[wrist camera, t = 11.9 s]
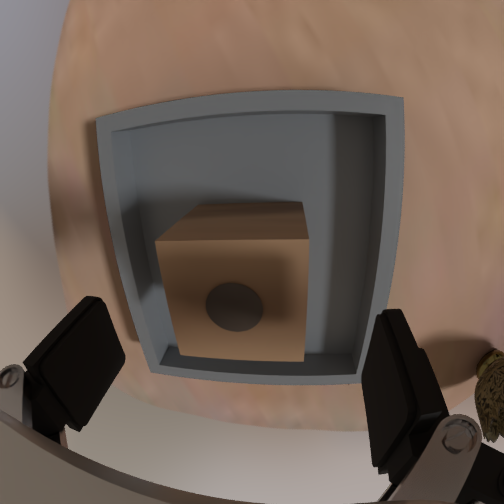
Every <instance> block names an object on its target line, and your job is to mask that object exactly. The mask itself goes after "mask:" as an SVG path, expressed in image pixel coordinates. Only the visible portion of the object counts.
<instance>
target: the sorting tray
mask: <svg viewBox="0 0 504 504" xmlns="http://www.w3.org/2000/svg"><path fill="white" fill-rule="evenodd" d="M96 130H97V142H98V153H99V162H100V170H101V178H102V185H103V192H104V198H105V205H106V210H107V216H108V222H109V227H110V232H111V237H112V242H113V246H114V251H115V255H116V260H117V264H118V268H119V272H120V276H121V280H122V284H123V288H124V291H125V295H126V298H127V302H128V305H129V309H130V312H131V316H132V319H133V322H134V325H135V328H136V332H137V335H138V338H139V341H140V344H141V347H142V349H143V352H144V355H145V358H146V361H147V363H148V366H149V369H150V371H151V372H152V373H158V374H164V375H171V376H178V377H185V378H193V379H202V380H211V381H222V382H234V383H248V384H268V385H336V384H356V383H361V374H362V370H363V366H364V363H365V359H366V355H367V352H368V348H369V344H370V340H371V336H372V332H373V327H374V323H375V318H376V316H377V314H381V313H382V311H383V310H384V309H386V308H387V303H388V298H389V293H390V288H391V283H392V277H393V271H394V265H395V258H396V251H397V244H398V236H399V228H400V218H401V208H402V195H403V179H404V148H405V130H404V100H403V97H396V96H388V95H380V94H371V93H360V92H346V91H327V90H272V91H252V92H238V93H227V94H217V95H209V96H201V97H193V98H187V99H180V100H174V101H168V102H163V103H158V104H153V105H148V106H143V107H138V108H134V109H130V110H125V111H121V112H117V113H113V114H110V115H106V116H102V117H99V118H96ZM262 202H303V208H304V213H305V218H306V224H307V229H308V235H309V274H308V300H307V320H306V336H305V351H304V362H289V361H252V360H233V359H218V358H206V357H195V356H185V355H180V352H179V348H178V344H177V341H176V337H175V333H174V329H173V325H172V321H171V317H170V312H169V308H168V304H167V299H166V295H165V290H164V286H163V281H162V276H161V271H160V266H159V261H158V256H157V251H156V245H155V241H156V240H157V239H158V238H159V237H160V236H161V235H163V234H164V233H165V232H166V231H167V230H168V229H170V228H171V227H172V226H173V225H174V224H175V223H177V222H178V221H179V220H180V219H181V218H183V217H184V216H185V215H186V214H187V213H189V212H190V211H191V210H192V209H193V208H195V207H196V206H197V205H204V204H228V203H262Z"/></svg>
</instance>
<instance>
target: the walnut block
mask: <svg viewBox="0 0 504 504" xmlns="http://www.w3.org/2000/svg"><path fill="white" fill-rule="evenodd" d="M155 245H156V251H157V256H158V261H159V266H160V271H161V276H162V281H163V286H164V290H165V295H166V299H167V304H168V308H169V312H170V317H171V321H172V325H173V329H174V333H175V337H176V341H177V344H178V348H179V352H180V355H185V356H195V357H206V358H218V359H233V360H252V361H289V362H304V351H305V336H306V320H307V300H308V274H309V235H308V229H307V224H306V218H305V213H304V208H303V202H262V203H228V204H204V205H197V206H196V207H195V208H193V209H192V210H191V211H190V212H189V213H187V214H186V215H185V216H184V217H183V218H181V219H180V220H179V221H178V222H177V223H175V224H174V225H173V226H172V227H171V228H170V229H168V230H167V231H166V232H165V233H164V234H163V235H161V236H160V237H159V238H158V239H157V240H156V241H155Z"/></svg>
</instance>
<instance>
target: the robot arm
mask: <svg viewBox="0 0 504 504" xmlns="http://www.w3.org/2000/svg"><path fill="white" fill-rule="evenodd" d="M124 363H125V354H124V351H123V349H122V346H121V344H120V341H119V339H118V336H117V334H116V331H115V328H114V326H113V323H112V320H111V318H110V315H109V312H108V309H107V306H106V304H105V303H104V302H103V300H102V299H101V298H99V297H93V296H86V297H84V298H83V299H82V300H81V301H80V302H79V303H78V304H77V305H76V306H75V307H74V308H73V309H72V310H71V311H70V312H69V313H68V314H67V315H66V316H65V317H64V318H63V319H62V321H60V322H59V323H58V324H57V326H56V327H55V328H54V329H53V330H52V331H51V332H50V333H49V334H48V335H47V336H46V337H45V338H44V339H43V340H42V342H41V343H40V344H39V345H38V346H37V347H36V348H35V349H34V350H33V351H32V352H31V353H30V355H29V356H28V357H27V358H26V359H25V360H24V361H23V364H24V365H25V367H26V369H27V371H26V372H25V371H24V370H23V368H22V367H21V366H20V365H16V364H13V365H9V366H6V367H5V368H3V369H2V370H1V371H0V504H263V503H251V502H243V501H235V500H227V499H222V498H215V497H210V496H204V495H199V494H195V493H190V492H186V491H182V490H177V489H174V488H170V487H166V486H163V485H159V484H155V483H152V482H149V481H146V480H142V479H139V478H137V477H133V476H131V475H128V474H125V473H122V472H119V471H117V470H115V469H112V468H109V467H107V466H104V465H102V464H100V463H97V462H95V461H93V460H91V459H88V458H86V457H84V456H82V455H79V454H77V453H75V452H73V451H71V450H69V449H68V445H67V440H66V434H65V428H64V426H65V424H67V425H68V426H69V427H70V428H71V429H74V430H76V431H78V432H80V431H81V429H82V427H83V426H86V425H87V423H88V422H89V420H90V418H91V417H92V415H93V413H94V412H95V410H96V408H97V406H98V405H99V403H100V402H101V400H102V398H103V397H104V395H105V393H106V392H107V390H108V389H109V387H110V385H111V384H112V382H113V381H114V379H115V377H116V376H117V374H118V373H119V371H120V370H121V368H122V366H123V365H124ZM361 384H362V390H363V396H364V402H365V409H366V416H367V423H368V431H369V439H370V448H371V458H372V465H373V467H378V474H386V473H388V475H389V481H390V482H391V484H390V485H389V487H388V488H387V489H386V490H385V492H384V493H383V494H382V496H381V497H380V498H379V499H378V501H377V502H371V503H357V504H504V453H502V452H499V451H498V450H496V449H494V448H492V447H490V446H488V445H486V444H484V443H482V442H481V441H482V433H481V429H480V427H479V425H478V424H477V423H476V422H475V421H474V419H472V418H470V417H468V416H466V415H462V414H454V415H451V416H450V415H449V412H448V409H447V406H446V403H445V401H444V398H443V395H442V392H441V390H440V387H439V384H438V382H437V379H436V377H435V374H434V372H433V369H432V367H431V364H430V362H429V359H428V357H427V355H426V353H425V351H424V349H422V348H418V346H417V343H416V341H415V339H414V336H413V334H412V332H411V330H410V327H409V325H408V323H407V321H406V319H405V316H404V314H403V312H402V310H401V309H384V310H383V311H382V313H381V314H377V316H376V318H375V323H374V327H373V332H372V336H371V340H370V344H369V348H368V352H367V355H366V359H365V363H364V366H363V370H362V374H361Z"/></svg>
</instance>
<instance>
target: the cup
mask: <svg viewBox="0 0 504 504" xmlns="http://www.w3.org/2000/svg"><path fill="white" fill-rule="evenodd" d="M476 376H477V378H478V379H479V380H478V382H477V385H476V388H475V404H476V409H477V413H478V417H479V420H480V424H481V428H482V432H483V436H484V439H485V437H486V439H487V442H489V441H490V440H491V441H492V442H493V443H494V442H496V440H497V439H498V437H499V435H501V436H502V437H503V438H504V353H503V352H502V351H500V350H494V351H491V352H489V353H488V354H487V355H485V356H484V357H483V358H482V359H481V361H480V362H479V364H478V366H477V368H476ZM499 433H500V434H499Z"/></svg>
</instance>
